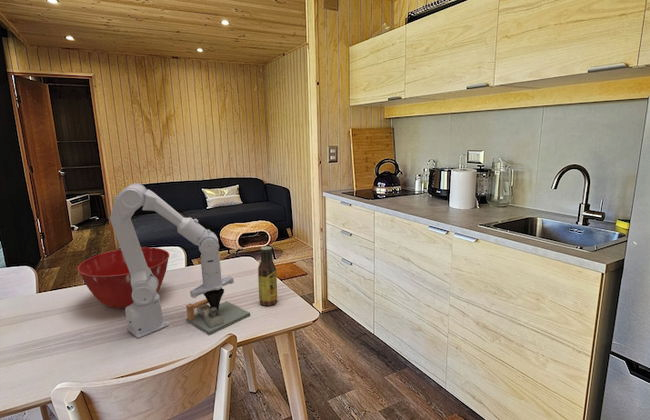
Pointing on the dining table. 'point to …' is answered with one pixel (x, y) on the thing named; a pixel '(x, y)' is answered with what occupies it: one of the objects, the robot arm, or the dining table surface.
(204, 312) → the latch
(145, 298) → the robot arm
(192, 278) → the dining table surface
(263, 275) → the sauce bottle
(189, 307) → the bracket
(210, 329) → the base
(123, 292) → the mixing bowl
